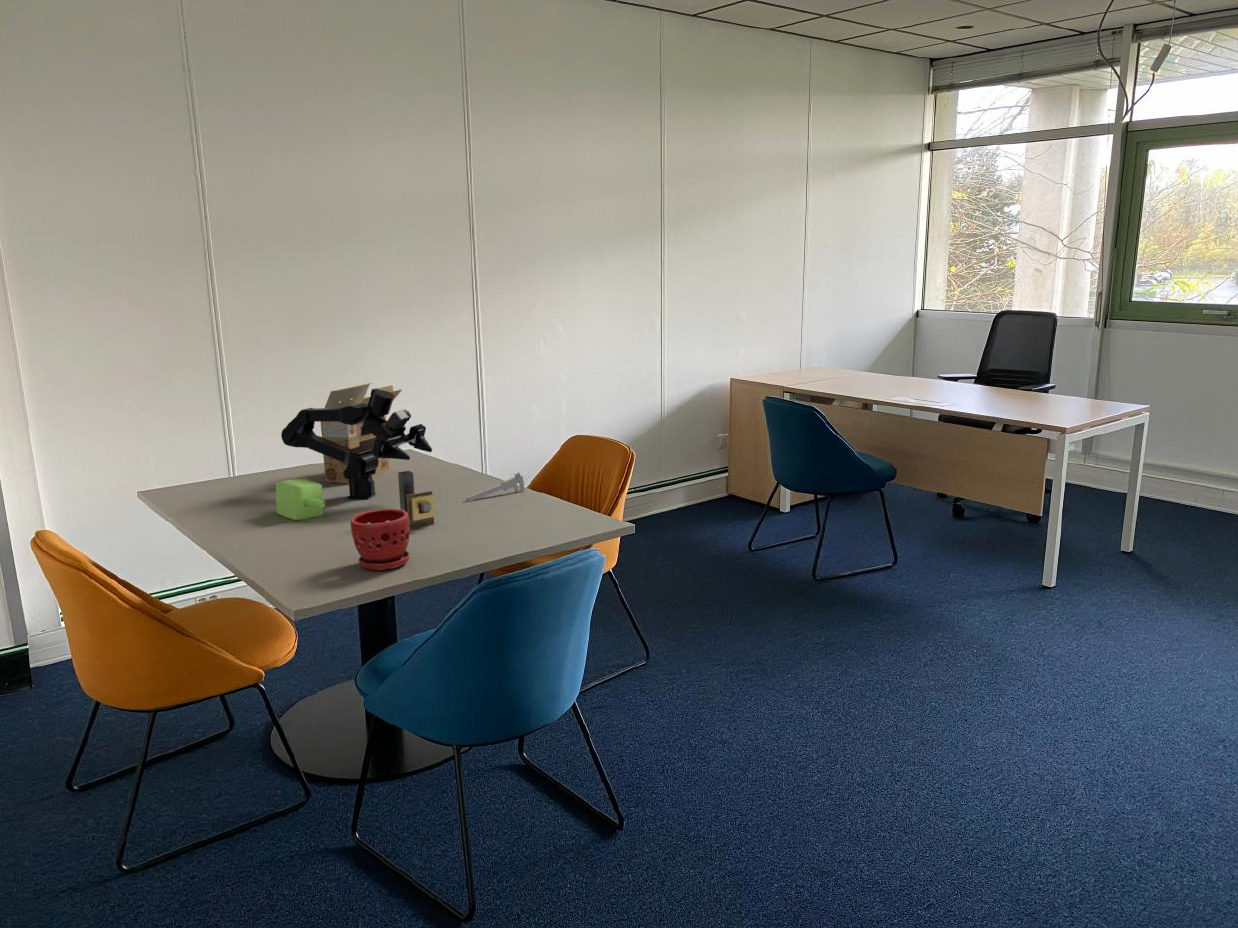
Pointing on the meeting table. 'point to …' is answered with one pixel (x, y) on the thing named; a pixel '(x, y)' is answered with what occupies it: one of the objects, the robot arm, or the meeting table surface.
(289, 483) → the gearbox
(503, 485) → the caliper
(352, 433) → the box
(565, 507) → the meeting table surface
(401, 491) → the steel shaft
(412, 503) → the frame
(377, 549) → the plant pot
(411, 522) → the plate
